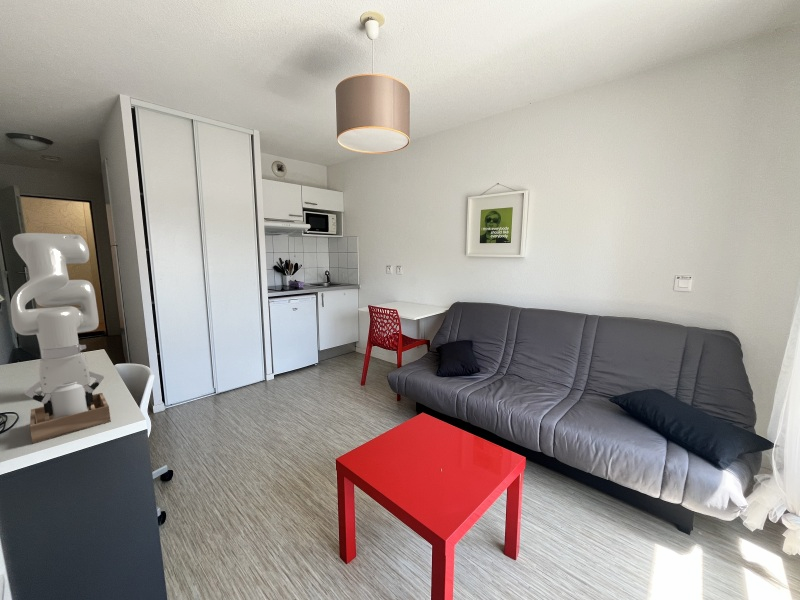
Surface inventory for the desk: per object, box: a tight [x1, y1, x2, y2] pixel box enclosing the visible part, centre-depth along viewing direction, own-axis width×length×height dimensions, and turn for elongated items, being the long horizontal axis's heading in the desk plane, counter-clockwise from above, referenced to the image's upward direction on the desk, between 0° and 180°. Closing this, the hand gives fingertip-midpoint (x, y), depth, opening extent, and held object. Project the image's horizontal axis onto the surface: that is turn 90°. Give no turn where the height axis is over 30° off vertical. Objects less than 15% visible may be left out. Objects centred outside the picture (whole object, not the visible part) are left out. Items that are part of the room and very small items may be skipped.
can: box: [49, 382, 88, 420], centre depth 97 cm, size 8×8×12 cm
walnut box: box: [29, 392, 112, 445], centre depth 99 cm, size 16×16×5 cm
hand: (70, 409), depth 97 cm, fingers closed on can, 7 cm apart
